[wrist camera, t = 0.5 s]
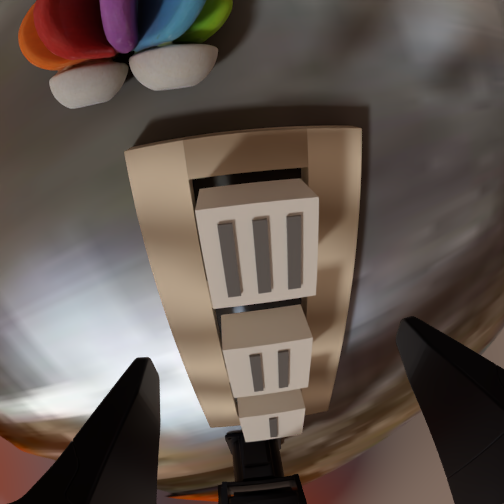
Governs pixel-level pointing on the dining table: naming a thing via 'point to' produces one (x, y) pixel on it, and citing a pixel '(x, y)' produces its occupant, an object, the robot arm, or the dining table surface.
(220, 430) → the dining table surface
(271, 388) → the tile two
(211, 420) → the tan curved board
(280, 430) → the tile one
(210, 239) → the tile three
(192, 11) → the rainbow lobed toy
